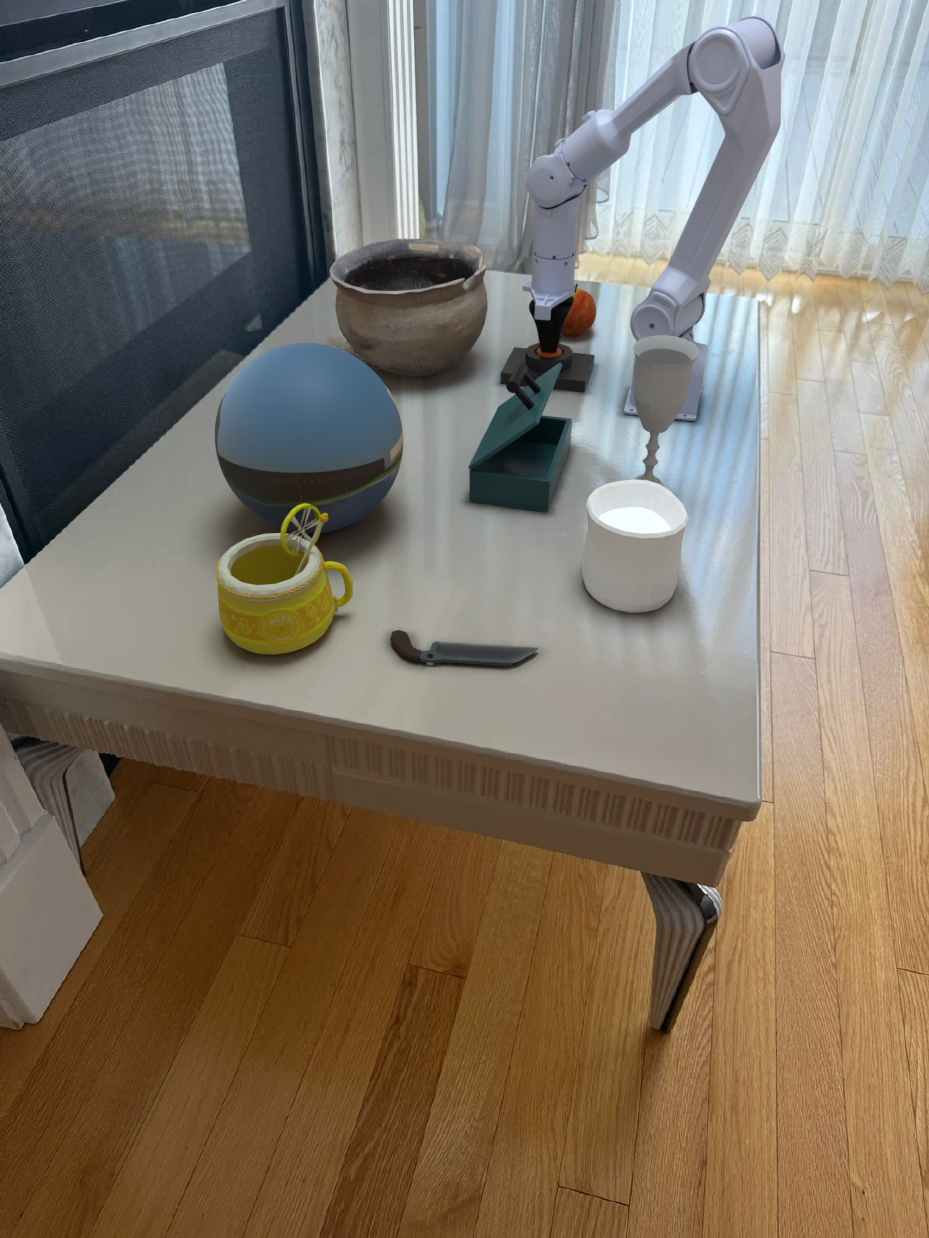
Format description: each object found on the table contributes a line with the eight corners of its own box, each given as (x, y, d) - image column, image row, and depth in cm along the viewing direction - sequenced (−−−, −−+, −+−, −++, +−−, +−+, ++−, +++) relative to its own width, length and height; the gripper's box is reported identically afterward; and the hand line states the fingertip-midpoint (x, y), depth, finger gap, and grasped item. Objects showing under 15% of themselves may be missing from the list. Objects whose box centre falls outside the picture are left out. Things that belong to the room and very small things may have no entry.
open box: (570, 448, 113) (572, 418, 111) (547, 512, 102) (549, 481, 100) (498, 439, 115) (499, 410, 113) (469, 502, 104) (469, 471, 101)
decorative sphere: (207, 563, 95) (165, 388, 83) (264, 469, 110) (236, 308, 97) (388, 578, 93) (373, 399, 80) (421, 479, 108) (413, 316, 95)
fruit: (541, 330, 142) (543, 279, 137) (579, 323, 144) (583, 272, 139) (563, 346, 137) (566, 294, 132) (602, 338, 139) (607, 287, 134)
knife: (385, 661, 83) (385, 656, 83) (392, 633, 86) (392, 628, 86) (537, 670, 82) (537, 665, 81) (539, 642, 85) (539, 636, 85)
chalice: (674, 518, 101) (699, 367, 89) (613, 512, 102) (630, 361, 90) (675, 484, 106) (699, 337, 95) (618, 479, 108) (634, 333, 96)
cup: (611, 546, 97) (620, 467, 91) (694, 581, 92) (710, 501, 86) (560, 589, 91) (566, 508, 85) (646, 629, 86) (659, 546, 80)
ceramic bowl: (475, 402, 123) (474, 293, 114) (321, 392, 126) (308, 285, 116) (496, 337, 140) (497, 238, 130) (360, 330, 143) (351, 232, 133)
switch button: (563, 358, 130) (563, 347, 129) (558, 369, 127) (559, 357, 126) (538, 356, 130) (539, 344, 129) (533, 366, 128) (534, 354, 127)
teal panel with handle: (562, 365, 107) (539, 336, 105) (538, 424, 96) (512, 393, 94) (500, 409, 113) (477, 382, 111) (470, 470, 101) (444, 441, 100)
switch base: (593, 365, 132) (595, 342, 130) (584, 392, 125) (586, 368, 123) (514, 357, 134) (514, 335, 132) (500, 383, 128) (500, 360, 125)
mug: (228, 674, 82) (202, 569, 74) (220, 602, 90) (196, 500, 83) (366, 648, 85) (355, 544, 77) (347, 580, 93) (335, 480, 85)
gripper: (535, 233, 125) (531, 328, 134) (513, 268, 114) (510, 369, 123) (585, 237, 124) (578, 333, 132) (568, 273, 113) (561, 374, 122)
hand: (549, 351), depth 128 cm, fingers closed, pressing on switch button
